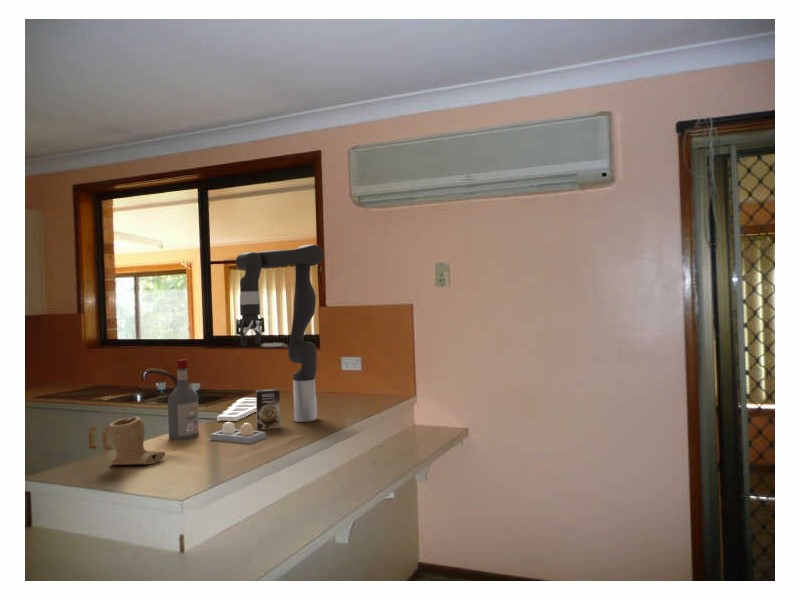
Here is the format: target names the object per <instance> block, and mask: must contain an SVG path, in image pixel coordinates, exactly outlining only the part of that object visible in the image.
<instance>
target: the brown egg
mask: <svg viewBox="0 0 800 600" xmlns="http://www.w3.org/2000/svg"><path fill="white" fill-rule="evenodd" d="M239 430H241V436H248V437H249V436H252V435H254V433H253V431H254V426H253V424H251V423H250V422H244V423H242V425H241V426H240V429H239Z"/></svg>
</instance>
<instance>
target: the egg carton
mask: <svg viewBox="0 0 800 600" xmlns="http://www.w3.org/2000/svg"><path fill="white" fill-rule="evenodd" d="M253 433H254V435H252V436H249V437H248V436H241V430H240V429H237V428H235V433H234V434H231V435H226V434H222V429H221V430H219V431H218V430H217V431H216V432H213V433H210V438H209V439H208V440H209V441H214V442H215V441H216V442H227V443H235V444H236V443H237V444H247V445H252V444H254V443H256V442H259V441H262V440H265V439H268V436H266V431H260V430H253Z"/></svg>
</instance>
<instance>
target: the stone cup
mask: <svg viewBox="0 0 800 600" xmlns="http://www.w3.org/2000/svg"><path fill="white" fill-rule="evenodd" d="M107 432H108V435H109V438H110V441H111V443H112V445H113V447H114V449H115V452H116V455H115V456H114V457H113V458H112V459H110V461H109V463H110V464H111V465H115V466H116V465H117V466H118V465H119V466H123V465H124V466H127V465H128V466H129V465H131V466H133V465H136V466H137V465H142V466H143V465H153V464H156V463H158V462H160V461H161V460H162V459H163V458H164V457H165V456H166V452H165V451H156V450H155V451H151V450H146V449H145V448H144V440H145V433H146V431H145V423H144V421H143V419H142V417H139V416H136V415H135V416H132V417H130V418H129V417H124V418H120V419H117V420H115V421H113V422H111V423H109V425H108V428H107Z"/></svg>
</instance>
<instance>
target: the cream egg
mask: <svg viewBox="0 0 800 600" xmlns="http://www.w3.org/2000/svg"><path fill="white" fill-rule="evenodd" d="M221 427H222V429H221V430H222V434H226V435H231V434H234V433H235V429H236V426H235V423H234V422H224V423H223V424H222V426H221Z"/></svg>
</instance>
